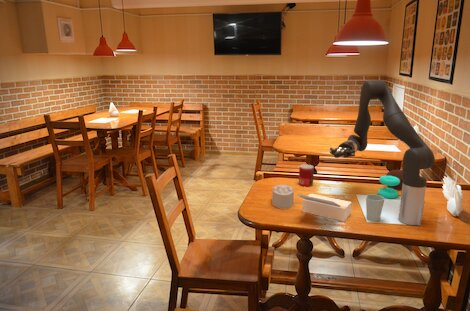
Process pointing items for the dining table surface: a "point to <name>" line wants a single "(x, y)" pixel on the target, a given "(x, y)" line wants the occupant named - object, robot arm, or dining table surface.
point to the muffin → (399, 175)
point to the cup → (374, 207)
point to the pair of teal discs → (389, 182)
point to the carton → (327, 208)
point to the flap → (319, 200)
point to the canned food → (306, 175)
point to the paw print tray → (282, 196)
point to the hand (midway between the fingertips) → (336, 155)
